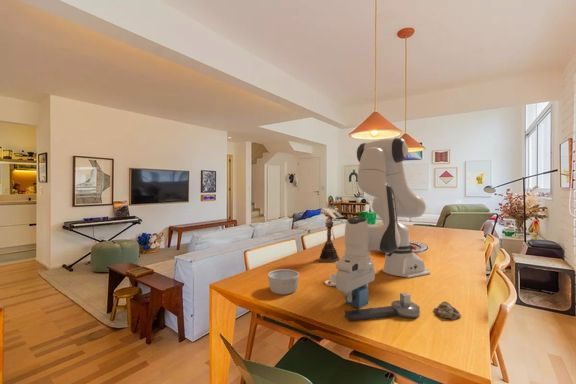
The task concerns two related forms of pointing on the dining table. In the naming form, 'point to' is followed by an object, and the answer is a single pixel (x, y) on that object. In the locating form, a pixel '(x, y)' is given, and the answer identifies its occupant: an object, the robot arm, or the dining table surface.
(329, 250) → the bird statue
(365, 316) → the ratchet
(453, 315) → the mineral rock
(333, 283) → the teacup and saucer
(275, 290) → the ramekin
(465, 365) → the dining table surface
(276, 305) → the dining table surface
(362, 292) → the slate grey cube
